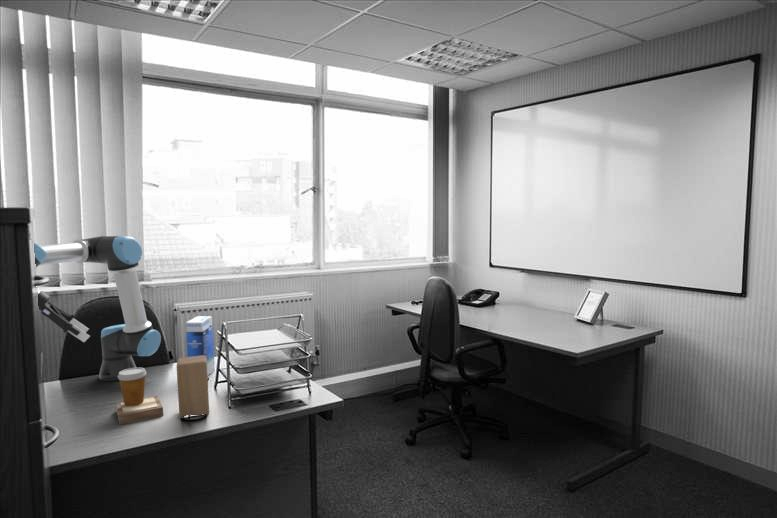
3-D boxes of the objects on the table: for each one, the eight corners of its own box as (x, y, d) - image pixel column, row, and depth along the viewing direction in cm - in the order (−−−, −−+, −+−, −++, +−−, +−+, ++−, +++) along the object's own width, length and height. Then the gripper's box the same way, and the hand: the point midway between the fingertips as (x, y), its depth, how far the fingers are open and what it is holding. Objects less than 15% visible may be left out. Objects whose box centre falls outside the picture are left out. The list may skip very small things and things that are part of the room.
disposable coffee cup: (153, 397, 189) (151, 366, 188) (140, 407, 179) (138, 375, 178) (128, 398, 189) (126, 367, 188) (114, 407, 180) (111, 375, 178)
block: (180, 409, 185) (177, 357, 183) (208, 405, 189) (206, 354, 187) (179, 420, 176) (176, 364, 174) (209, 415, 179) (206, 361, 178)
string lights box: (199, 370, 232) (196, 316, 230) (215, 370, 232) (213, 315, 230) (188, 379, 219) (184, 322, 217) (205, 379, 219) (202, 322, 217)
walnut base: (116, 411, 185) (115, 402, 184) (157, 403, 192) (157, 395, 192) (119, 424, 173) (118, 415, 173) (163, 415, 180) (162, 406, 180)
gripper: (25, 301, 179) (78, 336, 188) (19, 312, 158) (78, 351, 167) (42, 285, 181) (93, 321, 190) (38, 294, 160) (96, 333, 169)
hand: (86, 335), depth 179 cm, fingers open, 13 cm apart
